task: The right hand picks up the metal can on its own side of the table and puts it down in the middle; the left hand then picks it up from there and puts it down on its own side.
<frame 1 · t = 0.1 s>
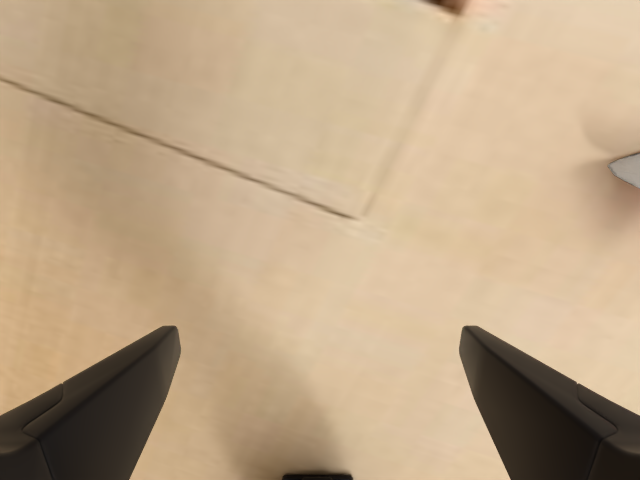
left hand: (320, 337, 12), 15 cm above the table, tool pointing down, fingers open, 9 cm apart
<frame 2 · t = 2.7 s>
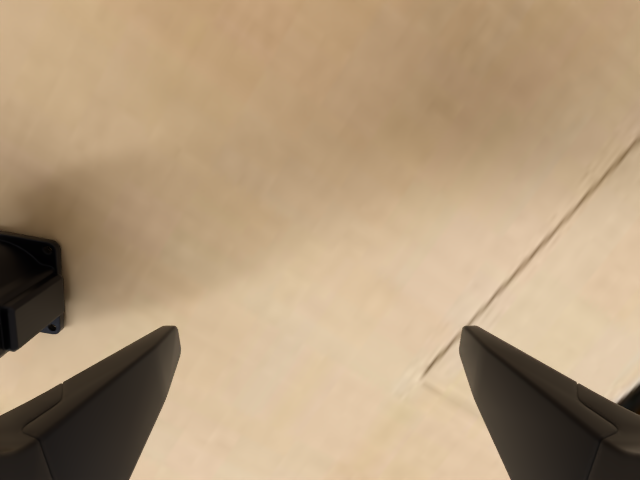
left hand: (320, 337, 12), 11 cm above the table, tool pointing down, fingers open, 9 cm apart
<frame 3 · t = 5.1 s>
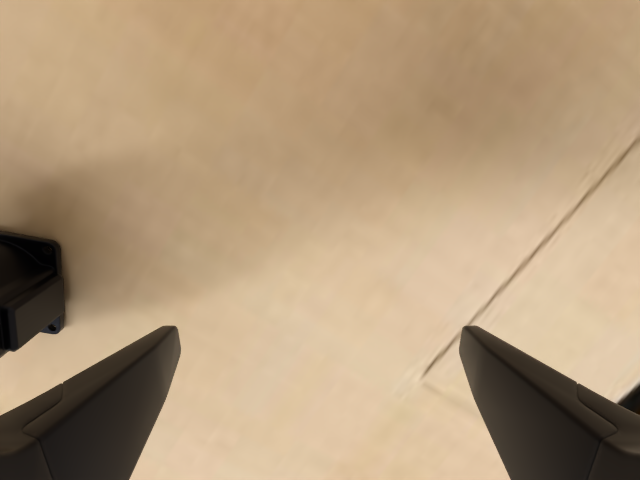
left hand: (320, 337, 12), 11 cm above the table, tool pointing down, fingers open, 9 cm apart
when the right hand's fingers open (2 cm above the table, at t = 7.3 s): can stays where it is, on the table.
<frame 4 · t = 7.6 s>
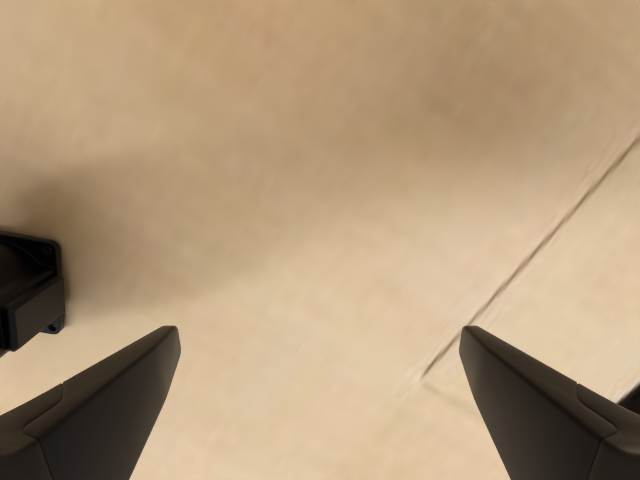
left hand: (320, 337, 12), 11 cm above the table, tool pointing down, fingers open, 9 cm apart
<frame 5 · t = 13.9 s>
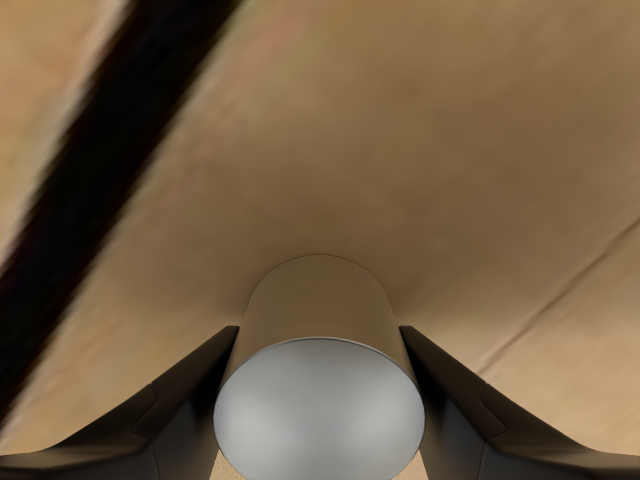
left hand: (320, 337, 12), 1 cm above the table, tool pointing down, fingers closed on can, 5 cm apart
can: (319, 320, 13), on the table, touching left hand
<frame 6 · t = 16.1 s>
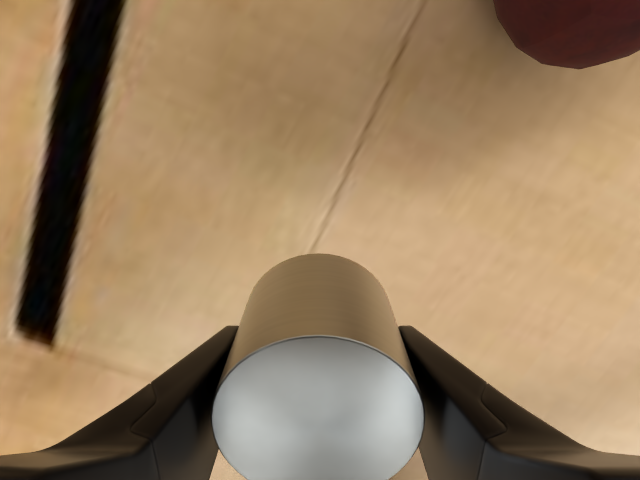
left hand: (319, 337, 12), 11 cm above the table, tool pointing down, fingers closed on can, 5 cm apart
can: (318, 319, 13), point 10 cm above the table, touching left hand
when the left hand's fingers open (2 cm above the table, at t = 18.6 s): can stays where it is, on the table.
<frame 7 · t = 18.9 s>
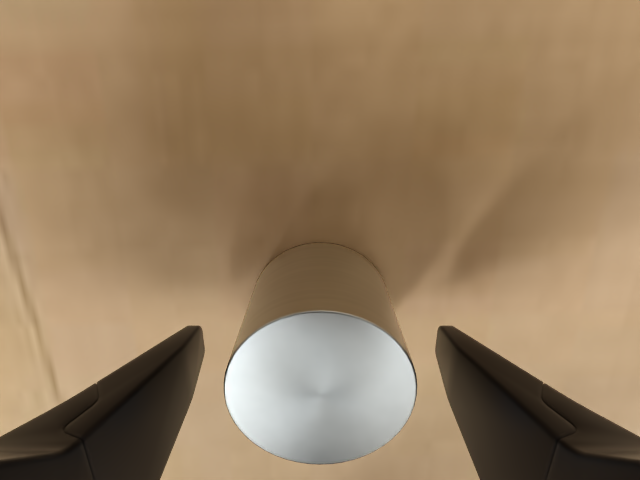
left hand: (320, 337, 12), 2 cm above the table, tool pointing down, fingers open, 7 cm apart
can: (320, 304, 14), on the table
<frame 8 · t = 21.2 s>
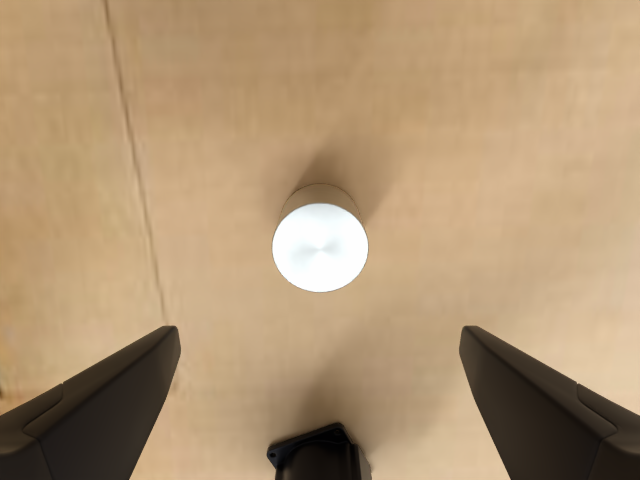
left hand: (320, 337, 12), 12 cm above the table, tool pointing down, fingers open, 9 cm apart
can: (320, 222, 23), on the table
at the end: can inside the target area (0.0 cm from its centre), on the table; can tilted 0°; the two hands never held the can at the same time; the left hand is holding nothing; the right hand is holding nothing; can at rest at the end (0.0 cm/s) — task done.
